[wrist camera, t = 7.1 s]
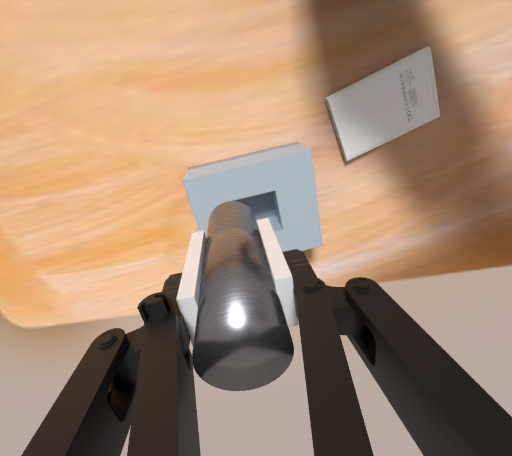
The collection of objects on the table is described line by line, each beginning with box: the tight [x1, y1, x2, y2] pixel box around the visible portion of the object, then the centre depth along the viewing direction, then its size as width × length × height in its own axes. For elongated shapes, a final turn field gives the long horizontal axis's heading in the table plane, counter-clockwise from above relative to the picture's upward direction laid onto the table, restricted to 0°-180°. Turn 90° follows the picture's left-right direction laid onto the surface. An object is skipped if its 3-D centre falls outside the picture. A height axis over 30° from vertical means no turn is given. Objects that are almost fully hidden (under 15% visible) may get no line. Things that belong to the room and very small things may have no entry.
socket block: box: [182, 142, 323, 252], centre depth 34 cm, size 12×14×6 cm
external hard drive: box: [325, 46, 440, 161], centre depth 33 cm, size 2×8×12 cm
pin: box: [192, 201, 294, 391], centre depth 15 cm, size 4×4×12 cm
